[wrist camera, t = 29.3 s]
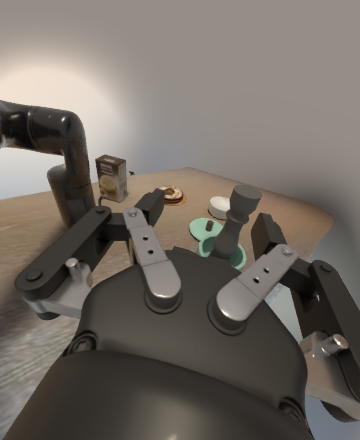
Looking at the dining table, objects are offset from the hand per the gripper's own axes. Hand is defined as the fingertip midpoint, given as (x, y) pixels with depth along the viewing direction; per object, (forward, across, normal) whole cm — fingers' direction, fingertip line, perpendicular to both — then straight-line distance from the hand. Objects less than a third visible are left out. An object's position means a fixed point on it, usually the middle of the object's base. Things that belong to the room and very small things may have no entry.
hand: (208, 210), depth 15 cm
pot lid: (+38, -4, +31) cm, 49 cm away
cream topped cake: (+56, +16, +32) cm, 66 cm away
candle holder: (+22, -8, +32) cm, 39 cm away
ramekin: (+52, -8, +32) cm, 61 cm away
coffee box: (+45, +37, +32) cm, 66 cm away
